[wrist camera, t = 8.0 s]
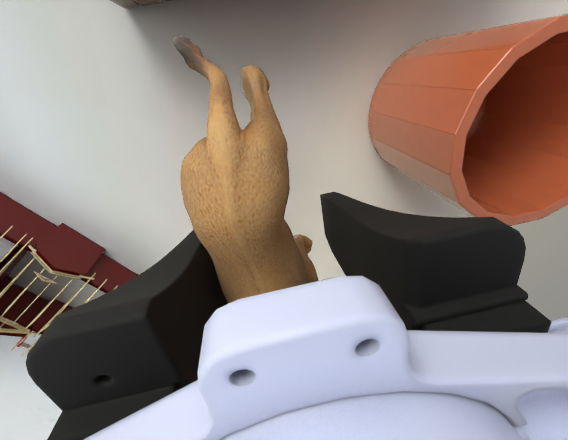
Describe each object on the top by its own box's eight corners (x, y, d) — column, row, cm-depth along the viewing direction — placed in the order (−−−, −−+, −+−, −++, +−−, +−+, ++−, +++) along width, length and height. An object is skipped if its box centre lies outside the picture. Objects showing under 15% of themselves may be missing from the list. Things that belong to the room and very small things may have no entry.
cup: (497, 25, 16) (696, -12, 9) (476, 157, 20) (607, 204, 13) (365, 52, 16) (466, 34, 9) (369, 181, 20) (442, 241, 12)
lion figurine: (353, 284, 17) (439, 471, 9) (273, 315, 18) (289, 515, 10) (241, 6, 10) (196, -209, 2) (116, 72, 11) (-259, 81, 3)
